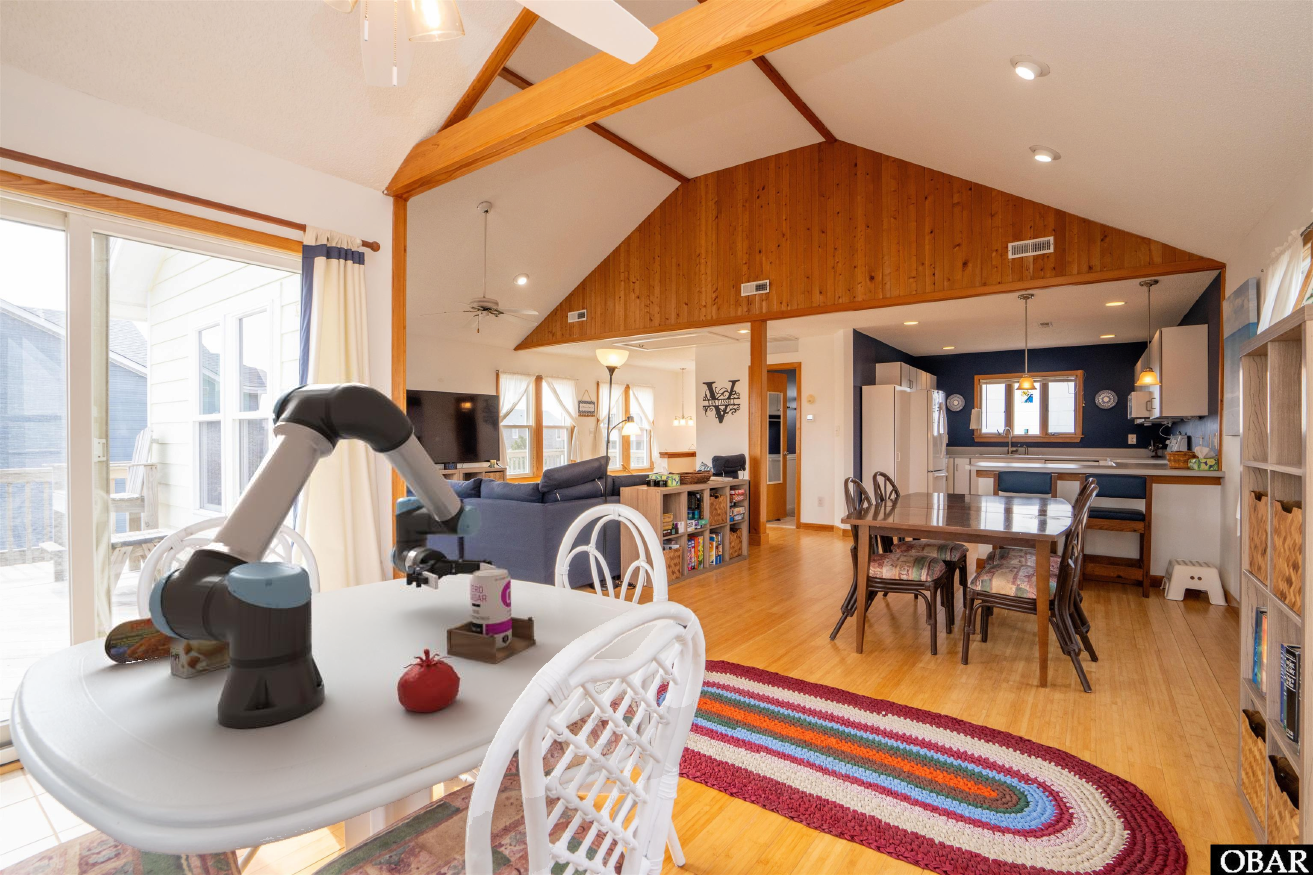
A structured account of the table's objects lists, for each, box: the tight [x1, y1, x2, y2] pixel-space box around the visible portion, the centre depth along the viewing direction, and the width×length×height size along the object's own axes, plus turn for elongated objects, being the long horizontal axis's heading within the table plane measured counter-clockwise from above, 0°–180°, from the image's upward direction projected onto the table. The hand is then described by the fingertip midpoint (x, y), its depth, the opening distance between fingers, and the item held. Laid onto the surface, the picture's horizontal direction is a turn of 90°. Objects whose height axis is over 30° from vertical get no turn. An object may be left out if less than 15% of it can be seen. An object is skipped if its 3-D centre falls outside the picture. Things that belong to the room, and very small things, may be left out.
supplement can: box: [469, 568, 512, 649], centre depth 131 cm, size 8×8×15 cm
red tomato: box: [396, 648, 461, 714], centre depth 105 cm, size 10×10×9 cm
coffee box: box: [169, 636, 230, 679], centre depth 123 cm, size 9×6×16 cm
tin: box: [104, 616, 170, 664], centre depth 130 cm, size 15×3×8 cm, turn 133°
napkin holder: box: [446, 616, 537, 665], centre depth 131 cm, size 13×13×6 cm
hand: (466, 577), depth 138 cm, fingers open, 13 cm apart
